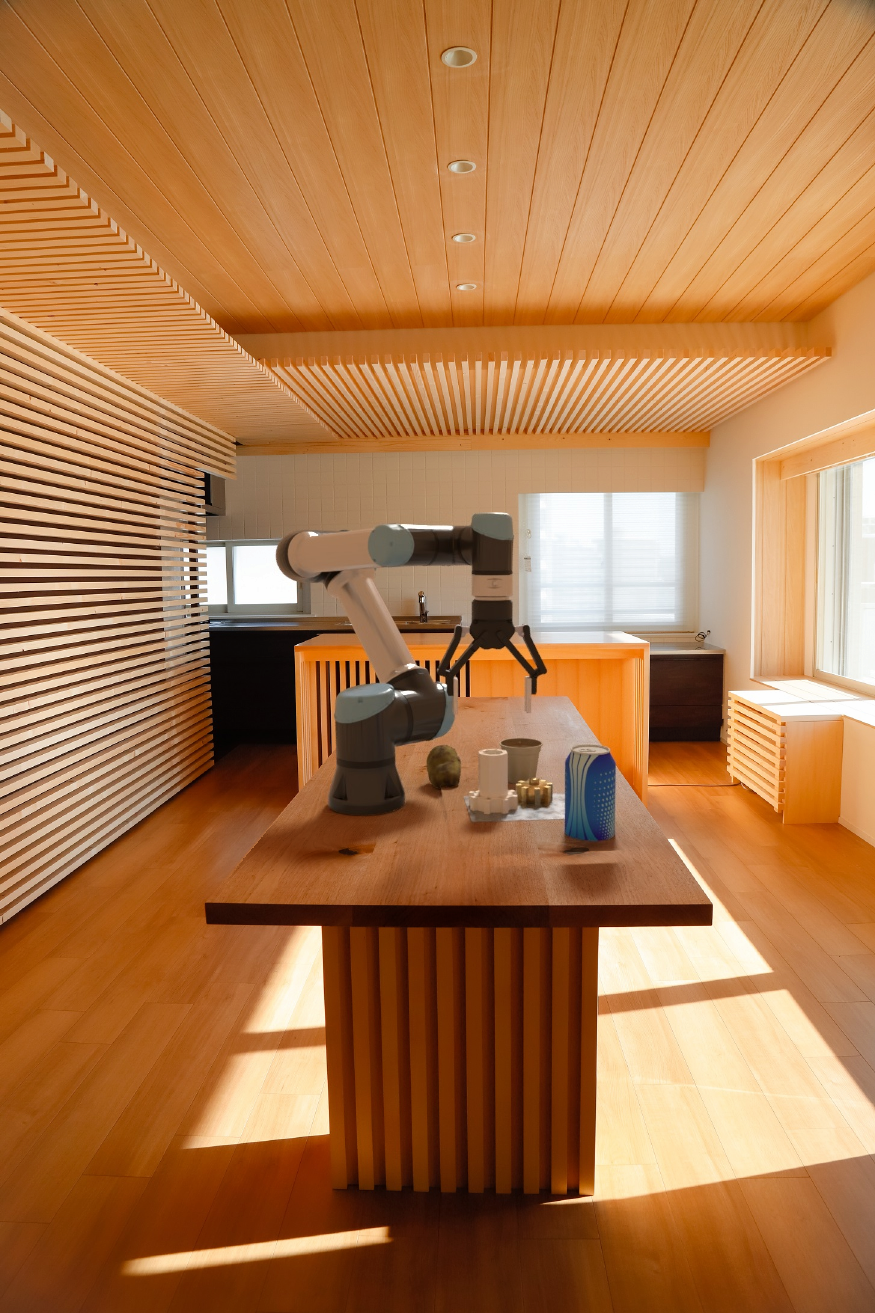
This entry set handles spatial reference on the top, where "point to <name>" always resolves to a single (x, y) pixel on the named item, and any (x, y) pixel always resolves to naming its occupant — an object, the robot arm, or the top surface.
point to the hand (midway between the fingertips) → (491, 712)
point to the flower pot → (521, 758)
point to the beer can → (590, 793)
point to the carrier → (528, 804)
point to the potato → (443, 767)
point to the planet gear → (493, 784)
